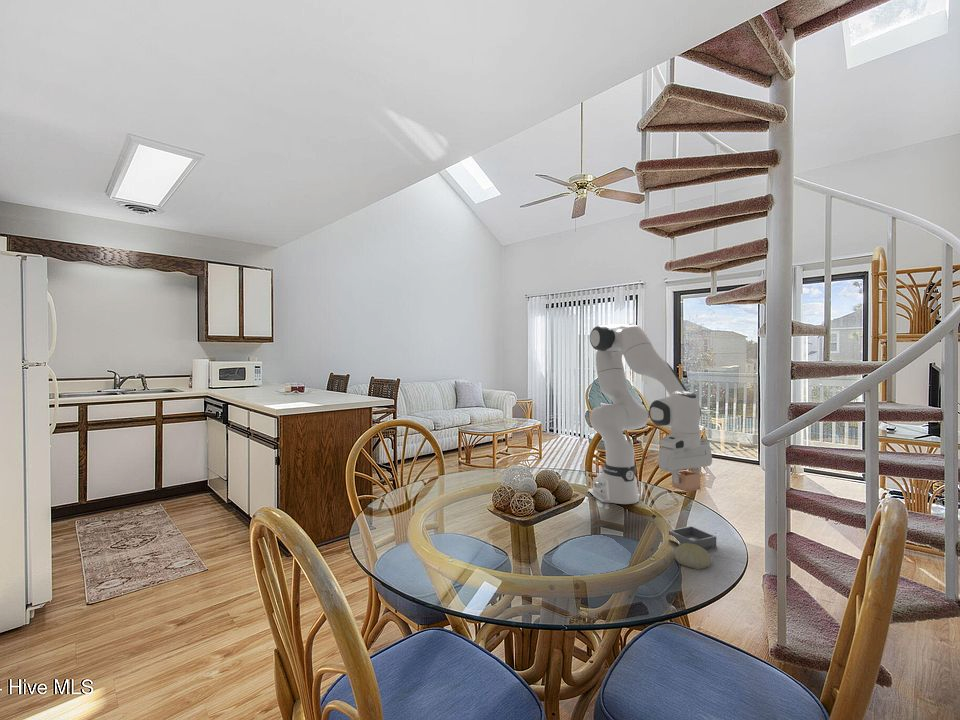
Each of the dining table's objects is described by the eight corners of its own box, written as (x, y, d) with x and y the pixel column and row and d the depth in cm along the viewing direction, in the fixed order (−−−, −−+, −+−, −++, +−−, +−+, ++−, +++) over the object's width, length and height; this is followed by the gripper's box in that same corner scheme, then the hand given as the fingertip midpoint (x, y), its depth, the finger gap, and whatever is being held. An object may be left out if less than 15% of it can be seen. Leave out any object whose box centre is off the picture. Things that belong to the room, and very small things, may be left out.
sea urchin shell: (699, 568, 116) (680, 539, 121) (681, 580, 121) (664, 552, 126) (721, 560, 121) (702, 532, 126) (703, 572, 125) (685, 545, 130)
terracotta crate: (672, 486, 148) (672, 471, 148) (685, 484, 150) (685, 469, 150) (686, 491, 143) (686, 476, 143) (700, 489, 145) (700, 474, 145)
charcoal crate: (668, 539, 139) (668, 530, 139) (691, 535, 143) (691, 525, 143) (693, 551, 130) (692, 541, 130) (716, 546, 134) (716, 536, 134)
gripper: (701, 436, 153) (701, 475, 153) (654, 440, 146) (655, 482, 146) (716, 439, 147) (717, 480, 147) (669, 444, 140) (669, 487, 140)
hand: (686, 481), depth 147 cm, fingers closed on terracotta crate, 6 cm apart
